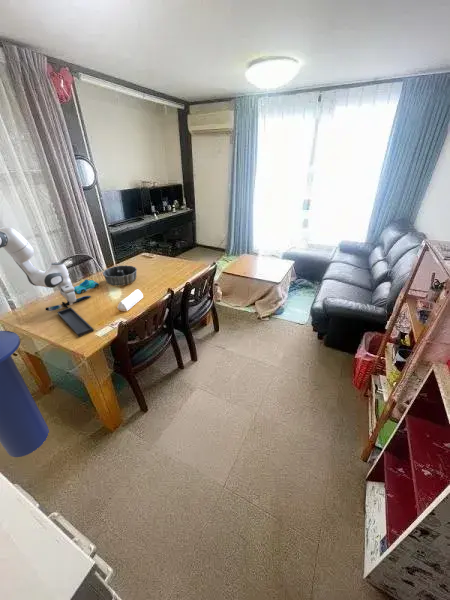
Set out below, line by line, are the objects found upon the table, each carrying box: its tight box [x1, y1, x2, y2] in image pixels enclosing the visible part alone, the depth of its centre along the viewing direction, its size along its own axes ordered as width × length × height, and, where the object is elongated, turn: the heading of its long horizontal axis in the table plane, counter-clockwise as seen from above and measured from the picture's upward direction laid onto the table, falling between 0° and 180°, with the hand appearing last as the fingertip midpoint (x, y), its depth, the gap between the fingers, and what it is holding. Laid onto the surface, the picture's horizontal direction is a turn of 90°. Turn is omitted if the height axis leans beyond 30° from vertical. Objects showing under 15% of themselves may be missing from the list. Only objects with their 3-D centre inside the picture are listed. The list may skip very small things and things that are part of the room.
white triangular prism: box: [116, 288, 144, 312], centre depth 178 cm, size 7×7×24 cm
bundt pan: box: [102, 264, 138, 287], centre depth 210 cm, size 26×26×10 cm
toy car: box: [73, 279, 100, 295], centre depth 199 cm, size 11×18×7 cm, turn 151°
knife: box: [45, 295, 92, 312], centre depth 176 cm, size 31×3×4 cm, turn 144°
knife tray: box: [57, 307, 94, 338], centre depth 158 cm, size 8×35×2 cm, turn 47°
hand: (70, 303), depth 176 cm, fingers closed on knife
